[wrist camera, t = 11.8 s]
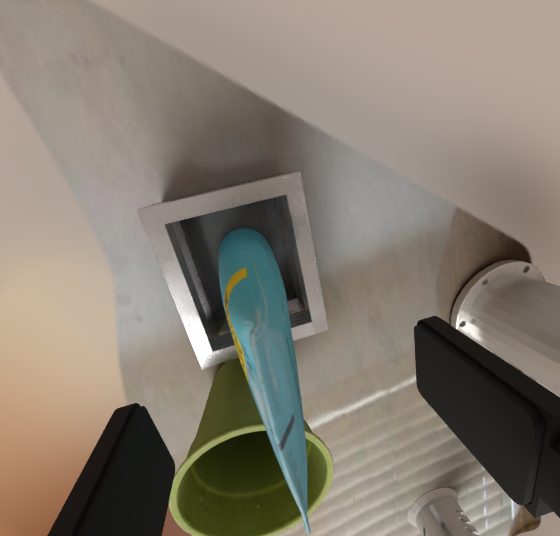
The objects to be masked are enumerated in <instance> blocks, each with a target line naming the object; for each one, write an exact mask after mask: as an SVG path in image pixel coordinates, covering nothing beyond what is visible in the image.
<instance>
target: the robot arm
mask: <svg viewBox="0 0 560 536" xmlns="http://www.w3.org/2000/svg"><path fill="white" fill-rule="evenodd" d="M414 339H415V360H416V380H417V388H418V390H419V392H420V394H421V395H422V397H423V398H424V399H425V400H426V401H427V402H428V404H429V405H430V406H431V407H432V408H433V409H434V410H435V412H436V413H437V414H438V415H439V416H440V417H441V419H442V420H443V421H444V422H445V423H446V424H447V425H448V427H449V428H450V429H451V430H452V431H453V432H454V433H455V435H456V436H457V437H458V438H459V439H460V440H461V442H462V443H463V444H464V445H465V446H466V447H467V448H468V450H469V451H470V452H471V453H472V454H473V455H474V456H475V458H476V459H477V460H478V461H479V462H480V463H481V465H482V466H483V467H484V468H485V469H486V470H487V471H488V473H489V474H490V475H491V476H492V477H493V478H494V479H495V481H496V482H497V483H498V484H499V485H500V486H501V488H502V489H503V490H504V491H505V492H506V493H507V494H508V496H509V497H510V498H511V499H512V500H513V501H514V502H516V503H517V504H519V505H524V506H525V508H526V509H527V510H528V511H529V512H530V513H531V514H532V515H533V517H534V518H537V517H539V516H542V515H545V514H547V513H550V512H553V511H554V512H555V513H556V514H557V516H558V517H559V518H560V397H558V396H556V395H555V394H554V393H552V392H550V391H549V390H547V389H546V388H544V387H543V386H541V385H540V384H538V383H537V382H535V381H534V380H532V379H531V378H529V377H528V376H526V375H525V374H523V373H522V372H520V371H519V370H517V369H516V368H514V367H513V366H511V365H510V364H508V363H507V362H505V361H504V360H502V359H501V358H499V357H498V356H496V355H495V354H497V355H499V356H500V357H502V358H503V359H505V360H506V361H508V362H509V363H511V364H513V365H514V366H516V367H517V368H519V369H520V370H522V371H523V372H525V373H527V374H528V375H530V376H531V377H533V378H534V379H536V380H537V381H539V382H541V383H542V384H544V385H545V386H547V387H548V388H550V389H551V390H553V391H554V392H556V393H558V394H559V395H560V286H557V285H554V284H550V283H547V282H545V279H544V277H543V275H542V273H541V272H540V271H539V269H538V268H537V267H535V266H534V265H532V264H530V263H527V262H523V261H520V260H504V261H500V262H497V263H494V264H492V265H490V266H488V267H486V268H485V269H483V270H482V271H480V272H479V273H477V274H476V275H475V276H474V277H473V278H472V279H471V280H470V281H469V282H468V283H467V284H466V286H465V287H464V288H463V289H462V291H461V293H460V294H459V296H458V297H457V300H456V302H455V304H454V307H453V310H452V314H451V325H450V324H448V323H447V322H445V321H444V320H442V319H441V318H439V317H437V316H432V317H429V318H426V319H422V320H419V321H418V323H417V326H415V327H414ZM493 353H495V354H493ZM174 475H175V464H174V460H173V458H172V457H171V455H170V453H169V451H168V449H167V447H166V445H165V443H164V441H163V439H162V438H161V436H160V434H159V432H158V430H157V428H156V426H155V424H154V422H153V420H152V419H151V417H150V415H149V413H148V411H147V409H146V408H145V407H144V406H140V405H139V404H138V403H134V404H131V405H127V406H124V407H121V408H118V409H116V410H115V411H114V413H113V415H112V417H111V418H110V420H109V422H108V424H107V426H106V428H105V430H104V431H103V434H102V435H101V437H100V439H99V441H98V443H97V444H96V446H95V448H94V450H93V452H92V454H91V455H90V457H89V459H88V461H87V463H86V465H85V467H84V469H83V470H82V472H81V474H80V476H79V478H78V480H77V482H76V483H75V485H74V487H73V489H72V491H71V493H70V495H69V496H68V498H67V500H66V502H65V504H64V506H63V508H62V510H61V512H60V513H59V515H58V517H57V519H56V521H55V523H54V524H53V526H52V528H51V530H50V532H49V534H48V536H162V531H163V527H164V522H165V517H166V513H167V508H168V503H169V498H170V494H171V489H172V484H173V480H174Z"/></svg>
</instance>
